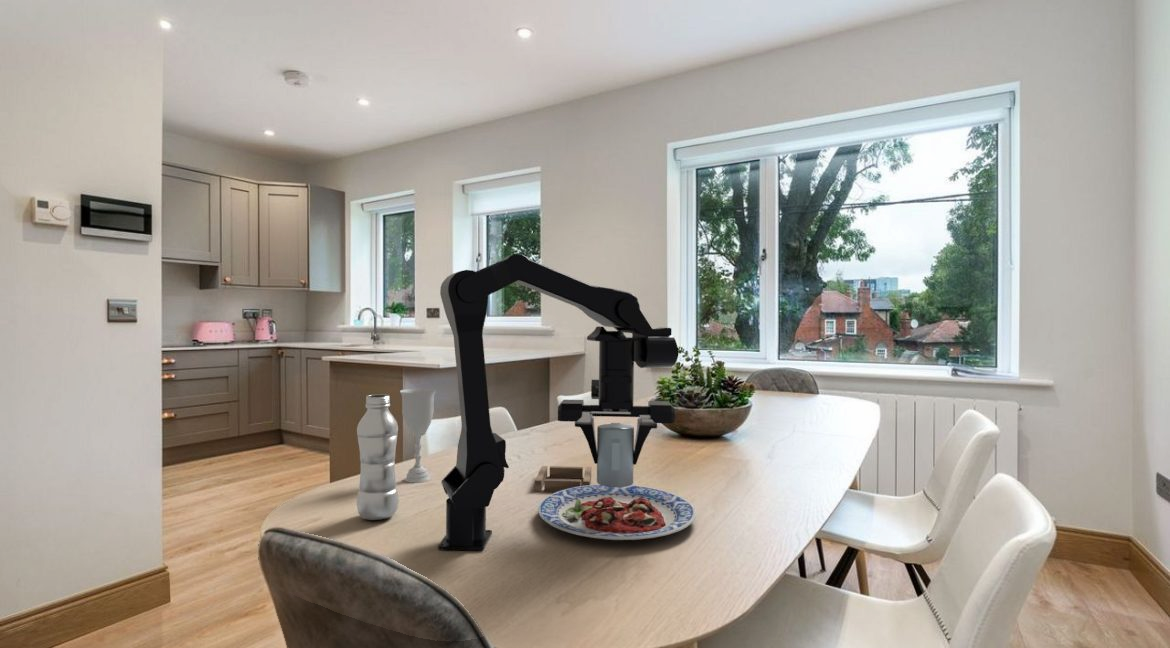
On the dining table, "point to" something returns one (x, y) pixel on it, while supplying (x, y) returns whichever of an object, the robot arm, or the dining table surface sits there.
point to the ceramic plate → (617, 512)
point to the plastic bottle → (377, 460)
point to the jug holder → (561, 473)
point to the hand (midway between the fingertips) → (615, 463)
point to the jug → (615, 455)
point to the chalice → (417, 425)
